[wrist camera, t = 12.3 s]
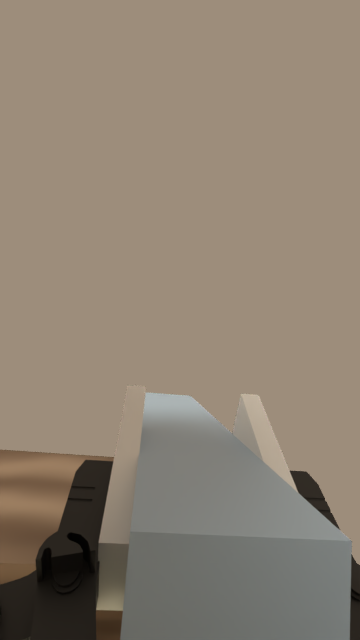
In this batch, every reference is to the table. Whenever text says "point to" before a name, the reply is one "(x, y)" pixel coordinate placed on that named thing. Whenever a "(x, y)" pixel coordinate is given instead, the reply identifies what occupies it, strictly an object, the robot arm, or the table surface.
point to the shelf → (39, 515)
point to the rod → (225, 541)
